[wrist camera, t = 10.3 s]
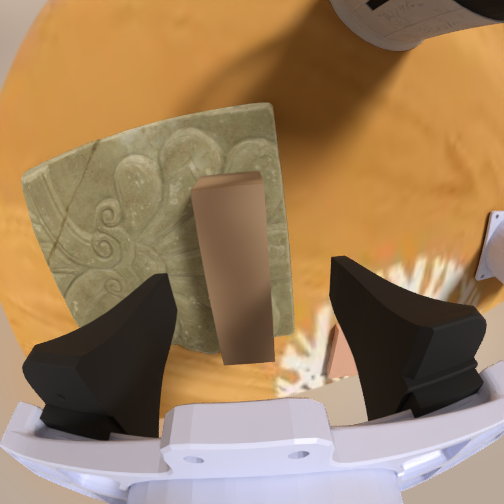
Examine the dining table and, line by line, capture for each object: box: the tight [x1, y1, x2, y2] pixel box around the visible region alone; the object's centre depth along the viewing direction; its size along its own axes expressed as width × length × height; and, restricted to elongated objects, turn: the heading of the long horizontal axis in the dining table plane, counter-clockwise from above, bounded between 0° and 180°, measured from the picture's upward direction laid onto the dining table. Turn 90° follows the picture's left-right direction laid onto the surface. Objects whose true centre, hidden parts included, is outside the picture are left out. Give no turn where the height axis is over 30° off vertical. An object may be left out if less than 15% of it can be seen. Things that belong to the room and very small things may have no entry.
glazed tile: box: [326, 323, 358, 378], centre depth 27 cm, size 8×2×7 cm
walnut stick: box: [191, 170, 275, 365], centre depth 18 cm, size 4×12×4 cm, turn 5°
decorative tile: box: [21, 102, 294, 355], centre depth 21 cm, size 19×20×4 cm
